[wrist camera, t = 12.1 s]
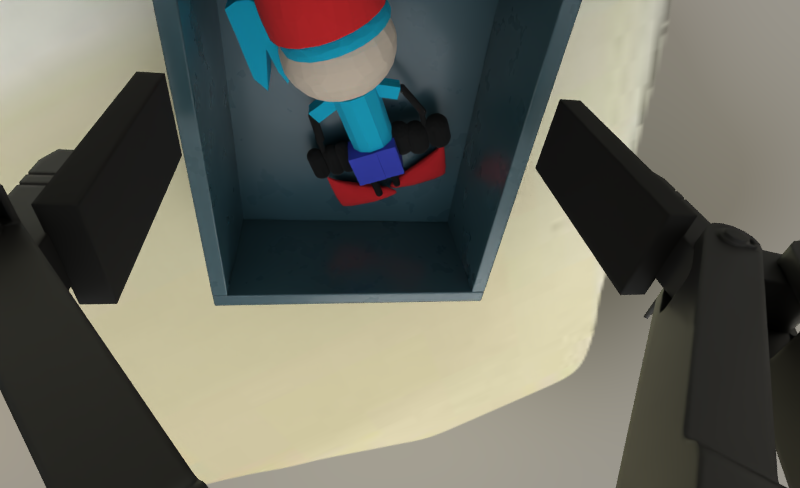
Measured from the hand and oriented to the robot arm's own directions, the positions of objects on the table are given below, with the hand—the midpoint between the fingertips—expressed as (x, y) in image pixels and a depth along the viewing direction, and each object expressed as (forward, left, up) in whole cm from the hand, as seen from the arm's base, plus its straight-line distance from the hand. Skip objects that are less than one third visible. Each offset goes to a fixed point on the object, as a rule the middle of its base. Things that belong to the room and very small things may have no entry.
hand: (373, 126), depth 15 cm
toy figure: (+1, -1, -8) cm, 8 cm away
